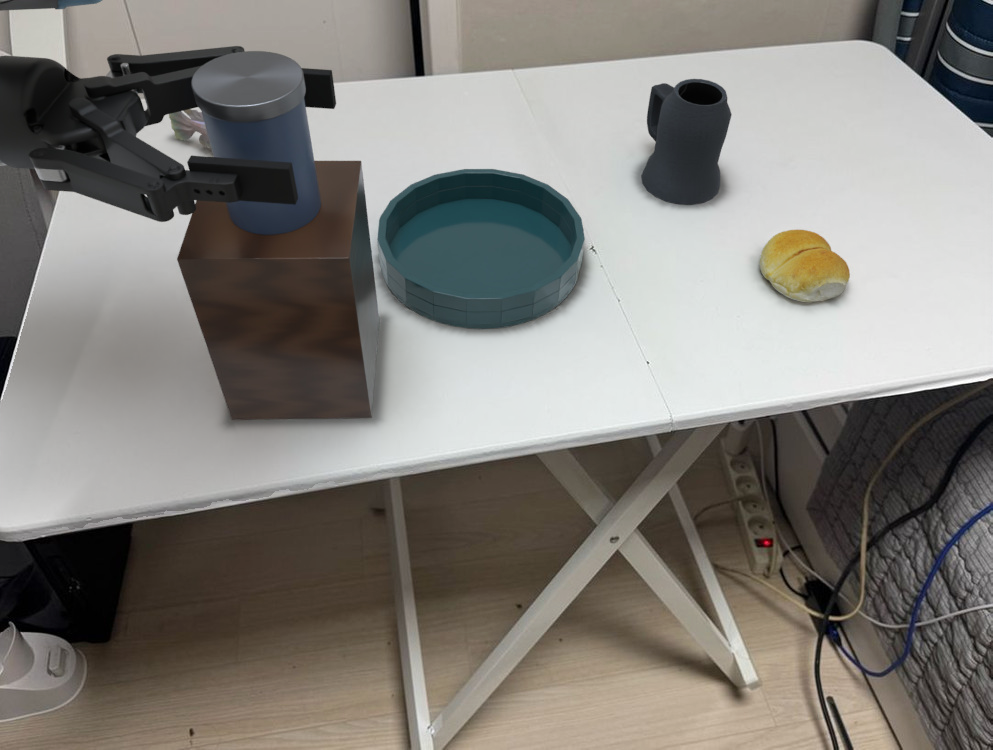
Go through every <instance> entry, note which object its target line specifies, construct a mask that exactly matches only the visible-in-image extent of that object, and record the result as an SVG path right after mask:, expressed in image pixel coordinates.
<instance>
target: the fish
mask: <svg viewBox="0 0 993 750" xmlns="http://www.w3.org/2000/svg"><path fill="white" fill-rule="evenodd" d="M168 118H169V120H170V124H171V125H170V126H171V129H172V131H173V132H174V139H176V140H181V141H186V140H187V141H188V140H189V139H191V138H192V136H194V134H195V133H196V132H197V133H199V134H200V135H199V137H198V142H199V144H200V145H201V146H203V147H205V146H206V147H205V148H208V149H211V145H210V141H209V137H208V134H207V130H206V126H205V122H204V119H203V115H202V111H198V109H188V110H184V111H180V112H175V113H171V114H168Z"/></svg>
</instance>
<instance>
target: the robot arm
mask: <svg viewBox="0 0 993 750" xmlns="http://www.w3.org/2000/svg"><path fill="white" fill-rule="evenodd" d="M101 2H103V0H0V11H19V10H20V11H24V10H26V11H27V10H46V9H47V10H48V9H54V10H65V9H66V8H69V7H78V6H87V5H94V4H95V5H97V4H98V3H101ZM237 52H245V48H244V47H243V46H241V45H233V46H231V45H230V46H221V47H211V48H202V49H194V50H193V49H192V50H183V51H171V52H162V53H153V54H143V55H141V54H140V55H137V54H122V53H114V54H110V55H108V56H107V58H106V61H107V64H108V67H109V71H108V72H107V74H106V75H97V76H92V77H82V78H81V77H78V76H76V75H75V74H73V73H72V72H71V71H70V70H68V69H67V68H66V67H65V66H64V65H62V64H61V63H60V62H58V61H56V60H55V59H52V58H47V57H37V56H35V57H33V56H18V55H0V167H5V166H7V167H10V168H15V169H24V170H25V169H26V170H27V169H28V170H35V172H36V174H37V176H38V178H39V180H40V182H41V185H42V187H43V190H46V191H53V192H66V193H67V192H69V193H76V194H78V195H81V196H85V197H86V198H87V197H88V198H90V199H92V200H96V201H99V202H101V203H104V204H107V205H110V206H113V207H116V208H119V209H122V210H124V211H126V212H130V213H133V214H135V215H139V216H141V217H145V218H146V219H147V218H148V219H150V220H153V221H155V222H159V223H165V222H169V221H171V220H172V219H173V218H174V217H175V212H174V209H177V211H178V213H179V215H182V216H188V215H192V213H194V212H195V211H196V205H195V203H196V200H198V201H212V202H214V201H215V202H220V201H221V202H226V203H231V202H238V201H251V202H265V203H279V204H293V205H296V202H297V200H298V193H297V188H296V183H295V177H294V172H293V167H292V163H289V162H275V161H261V160H247V159H233V158H218V157H214V156H205V155H203V156H202V155H190V156H189V158H188V160H187V161H186V162H187V167H188V169H185V165H184V164H183V163H181V162H179V161H177V160H176V159H174V158H172V157H170V156H169V155H167V154H165V153H164V152H162V151H160V150H159V149H157V148H156V147H154V146H152V145H151V144H149V143H147V142H145V141H144V140H142V139H140V138H139V137H137V134H138V133H140V132H141V131H142V130H143V129H144V128H145V127H148V126H152V125H156V124H160V123H162V122H163V120H164V117H165V116H167V115H169V114H171V113H175V112H180V111H181V112H184V110H188V109H191V110H193V109H196V108H199V107H198V106H197V104H196V101H195V97H194V93H193V90H192V86H191V81H192V78H193V76H194V74H195V72H196V71H197V70H198V69H199V68H200V67H201V66H203V65H204V64H206V63H207V62H209V61H211V60H213V59H216V58H218V57H221V56H224V55H228V54H232V53H237ZM301 68H302V70H303V75H304V81H305V87H306V92H305V96H304V100H305V106H306V108H313V109H328V110H335V109H336V106H337V99H336V91H335V83H334V76H333V70H332V69H321V68H308V67H307V68H306V67H301ZM139 94H142V95H143V98H144V101H145V104H146V109H145V107H144V104H143V102H142V99H141V97H140V95H139Z"/></svg>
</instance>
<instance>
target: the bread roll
mask: <svg viewBox="0 0 993 750" xmlns="http://www.w3.org/2000/svg"><path fill="white" fill-rule="evenodd" d="M758 262H759V270H760V272H761V274H762V276H763V278H765V279H766V280H767V281H769V282H770V284H771V286H772V287H773V288H774V290H776V291H777V292H778V293H780V294H781V295H782V296H784V297H787V298H789V299H791V300H794V301H797V302H802V303H812V302H823V301H827V300H831V299H834V298H836V297H838V296H840V295H841V294H842V293H843V292H844V291H845V289H846V286H847V285H848V283H849V281H850V277H851V274H850V267H849V265H848V263H847V262H846V260H845V259H844V258H843V257H841V256H840V255H839V254H838V253H836V252H835V251H833V250H832V248H831V245H830V244H829V242H828V241H827V240H826V239H825V238H824V237H823V236H822V235H820V234H818V233H816V232H814V231H811V230H806V229H789V230H783V231H781V232H778V233H777V234H775V235H773V236H772V237H771V238H769V240H768V241H767V243H765V245H764V247H763V248H762V250H761V253H760V257H759V261H758Z"/></svg>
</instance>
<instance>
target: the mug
mask: <svg viewBox="0 0 993 750" xmlns="http://www.w3.org/2000/svg"><path fill="white" fill-rule="evenodd" d="M732 115H733V114H732V111H731V108H730V105H729V103H728V94H727V91H726V89H725V88H724V87H723V86H721V85H720V84H719V83H717V82H714V81H712V80H708V79H702V78H689V79H684V80H681V81H678V82H677V84H676V85H675V86H672V85H670V84H669V83H666V82H664V83H663V82H662V83H659V84H655V85H653V86H651V89H650V94H649V100H648V106H647V114H646V126H647V131H648V134H649V136H650V137H651V138H652V139H653V141H655V144H654V149H653V152H652V154H650V155H649V157H648V158H647V159H648V160H647V162H646V164H645V166H644V168H643V170H642V173H641V176H640V177H641V183H642V185H643V186H644V188H645V189H646V190H647V192H649V193H650V194H651V195H653V196H654V197H656V198H658V199H660V200H663V201H664V202H668V203H671V204H676V205H687V206H688V205H690V206H691V205H699V204H704V203H705V202H708V201H710V200H713V198H714V197H715V196H717V195H718V194H719V191H720V188H721V170H720V167H719V166H720V165H719V160H720V156H721V152H722V149H723V146H724V143H725V141H726V138H727V135H728V131H729V126H730V122H731V119H732Z"/></svg>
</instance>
